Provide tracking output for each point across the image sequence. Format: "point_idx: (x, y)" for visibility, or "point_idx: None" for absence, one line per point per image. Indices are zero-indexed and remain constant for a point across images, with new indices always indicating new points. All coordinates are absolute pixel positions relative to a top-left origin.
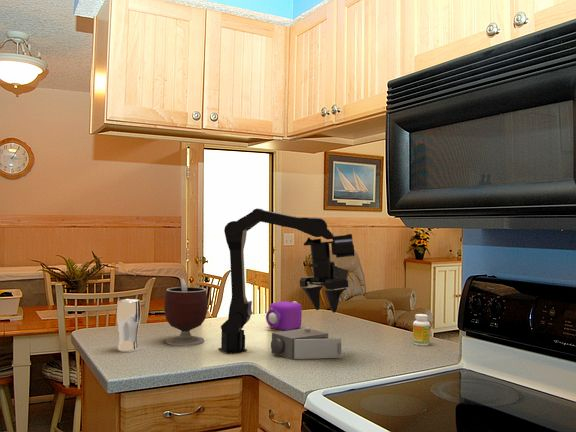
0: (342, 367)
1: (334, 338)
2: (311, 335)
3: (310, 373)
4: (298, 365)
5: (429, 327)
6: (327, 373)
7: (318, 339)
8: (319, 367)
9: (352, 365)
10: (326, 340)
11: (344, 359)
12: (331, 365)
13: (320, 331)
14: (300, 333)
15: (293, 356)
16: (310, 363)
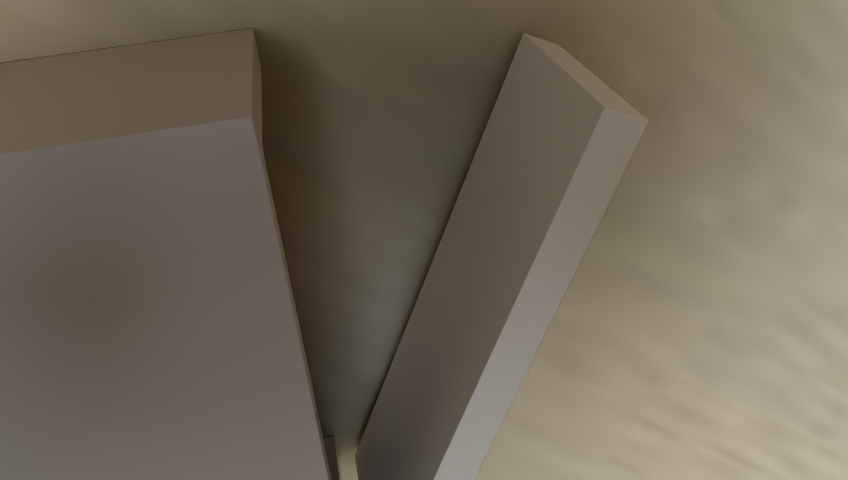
0: (789, 208)
1: (573, 196)
2: (296, 403)
3: (745, 475)
4: (533, 473)
5: None
6: (822, 385)
7: (511, 399)
8: (671, 368)
9: (806, 87)
10: (548, 303)
11: (593, 19)
12: (685, 258)
13: (43, 157)
14: (110, 473)
15: (338, 459)
16: (534, 379)
